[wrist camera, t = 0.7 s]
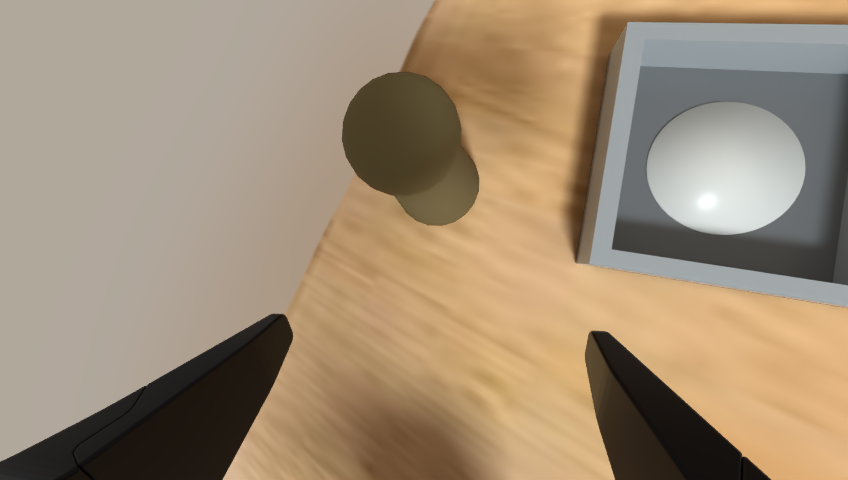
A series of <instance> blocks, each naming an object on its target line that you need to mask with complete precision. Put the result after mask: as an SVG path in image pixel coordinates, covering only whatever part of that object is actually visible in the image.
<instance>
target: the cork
mask: <svg viewBox="0 0 848 480" xmlns="http://www.w3.org/2000/svg"><path fill="white" fill-rule="evenodd" d="M342 142H343V146H344V150H345V154H346V158H347V159H348V161H349V163H350V164H351V166H352V168H353V169H354V171H355V172H356V174H357V176H358V177H359V178H361V179H362V180H363V181H364V182H366V183H367V184H368V185H369V186H370V187H372V188H374V189H376V190H378V191H381V192H384V193H386V194H389V195H392V196H395V197H396V199H397V200H398V201H399V203H400V204H401V206H402V207H403V208H404V210H405V211H406V212H407V213H408V214H409V215H410V216H411V217H413V218H414V219H415V220H416V221H418V222H421V223H424V224H427V225H436V226H442V225H446V224H449V223H452V222H455V221H456V220H458V219H459V218H461V217H462V216H464V215H465V214H466V213H467V212H468V211H469V209H470V208H471V207H472V206H473V204H474V202H475V199H476V197H477V194H478V192H479V175H478V172H477V169H476V165H475V164H474V162H473V161H472V160H471V158H470V157H469V155H468V154H467V153H466V151H465V150H464V149H463V147H462V146H461V125H460V121H459V117H458V114H457V110H456V107H455V105H454V103H453V102H452V100H451V99H450V98H449V96H448V95H447V93H446V92H445V91H444V90H443V89H442V88H441V86H439V85H438V84H436V83H435V82H433V81H432V80H430V79H429V78H427V77H426V76H423V75H419V74H415V73H411V72H397V73H387V74H385V75H382V76H380V77H377V78H375V79H373V80H371V81H370V82H369V83H368V84H366V85H365V86H364V87H362V88H361V89H360V90H359V91H358V93H357V94H356V95H355V97H354V98H353V99H352V101H351V102H350V104H349V107H348V109H347V112H346V115H345V117H344V121H343V134H342Z"/></svg>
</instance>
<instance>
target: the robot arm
mask: <svg viewBox="0 0 848 480" xmlns="http://www.w3.org/2000/svg"><path fill="white" fill-rule="evenodd" d="M292 340H293V332H292V329H291V327H290V324H289V322H288V319H287V317H286V316H285V315H284V314H271V315H269V316H267V317H265V318H263V319H262V320H260V321H259V322H256V323H255V324H253V325H251V326H250V327H248V328H246V329H244V330H242V331H241V332H239V333H237V334H235V335H234V336H232V337H230V338H228V339H227V340H225V341H223V342H221V343H220V344H218V345H216V346H214V347H213V348H211V349H209V350H207V351H206V352H204V353H202V354H200V355H198V356H197V357H195V358H193V359H191V360H190V361H188V362H186V363H184V364H183V365H181V366H179V367H177V368H176V369H174V370H172V371H170V372H169V373H167V374H165V375H163V376H162V377H160V378H158V379H156V380H155V381H153V382H151V383H149V384H148V385H147V386H144V387H142V388H141V389H139V390H137V391H136V392H133V393H132V394H130V395H128V396H126V397H125V398H123V399H121V400H119V401H117V402H116V403H114V404H112V405H110V406H108V407H106V408H105V409H103V410H101V411H99V412H97V413H95V414H93V415H91V416H89V417H87V418H86V419H84V420H82V421H80V422H78V423H76V424H74V425H72V426H70V427H68V428H66V429H64V430H62V431H60V432H59V433H57V434H55V435H53V436H51V437H49V438H47V439H45V440H43V441H41V442H39V443H37V444H35V445H33V446H31V447H29V448H27V449H26V450H24V451H21V452H20V453H18V454H16V455H14V456H11V457H9V458H7V459H6V460H3V461H1V462H0V480H223V478H224V476H225V474H226V472H227V470H228V468H229V467H230V465H231V463H232V461H233V459H234V457H235V455H236V454H237V452H238V450H239V448H240V446H241V444H242V442H243V441H244V439H245V437H246V435H247V433H248V431H249V429H250V428H251V426H252V424H253V422H254V420H255V418H256V416H257V415H258V413H259V411H260V409H261V407H262V405H263V403H264V402H265V400H266V398H267V396H268V394H269V392H270V390H271V388H272V386H273V384H274V382H275V380H276V378H277V376H278V373H279V371H280V368H281V366H282V364H283V361H284V359H285V357H286V354H287V352H288V350H289V347H290V345H291V343H292ZM585 362H586V367H587V372H588V378H589V383H590V388H591V393H592V398H593V404H594V409H595V413H596V418H597V422H598V426H599V429H600V432H601V436H602V439H603V442H604V445H605V448H606V452H607V455H608V458H609V461H610V464H611V468H612V471H613V474H614V477H615V480H771V479H770V478H769V477H768V476H767V475H766V474H764V473H763V472H762V471H761V470H760V469H759V468H758V467H757V466H756V465H755V464H753V463H752V462H751V461H750V460H749V459H748V458H747V457H742V453H741V452H740V451H739V450H738V449H737V448H736V447H734V446H733V445H732V444H731V443H730V442H729V441H728V440H727V439H726V438H724V437H723V436H722V435H721V434H720V433H719V432H718V431H717V430H716V429H715V428H713V427H712V426H711V425H710V424H709V423H708V422H707V421H706V420H705V419H703V418H702V417H701V416H700V415H699V414H698V413H697V412H696V411H695V410H694V409H692V408H691V407H690V406H689V405H688V404H687V403H686V402H685V401H684V400H683V399H681V398H680V397H679V396H678V395H677V394H676V393H675V392H674V391H673V390H671V389H670V388H669V387H668V386H667V385H666V384H665V383H664V382H663V381H662V380H660V379H659V378H658V377H657V376H656V375H655V374H654V373H653V372H652V371H650V370H649V369H648V368H647V367H646V366H645V365H644V364H643V363H642V362H641V361H639V360H638V359H637V358H636V357H635V356H634V355H633V354H632V353H631V352H629V351H628V350H627V349H626V348H625V347H624V346H623V345H622V344H621V343H620V342H618V341H617V340H616V339H615V338H614V337H613V336H612V335H611V334H610V333H608V332H605V331H591V332H590V333H589V335H588V340H587V346H586V351H585Z"/></svg>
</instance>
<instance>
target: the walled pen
mask: <svg viewBox="0 0 848 480" xmlns="http://www.w3.org/2000/svg"><path fill="white" fill-rule="evenodd" d="M576 263H577V264H584V265H590V266H596V267H602V268H608V269H614V270H620V271H626V272H632V273H638V274H644V275H650V276H656V277H663V278H669V279H675V280H681V281H687V282H693V283H699V284H705V285H711V286H717V287H723V288H729V289H735V290H741V291H748V292H754V293H760V294H766V295H772V296H778V297H784V298H790V299H796V300H802V301H808V302H814V303H820V304H826V305H833V306H839V307H845V308H848V25H826V24H748V23H669V22H628V23H627V24H626V26H625V28H624V30H623V31H622V33H621V35H620V37H619V38H618V40H617V42H616V43H615V45H614V47H613V49H612V50H611V52H610V54H609V58H608V65H607V71H606V77H605V83H604V90H603V96H602V102H601V108H600V115H599V121H598V127H597V133H596V140H595V146H594V152H593V158H592V164H591V171H590V177H589V183H588V189H587V196H586V202H585V208H584V214H583V221H582V227H581V233H580V239H579V246H578V252H577V258H576Z"/></svg>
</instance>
